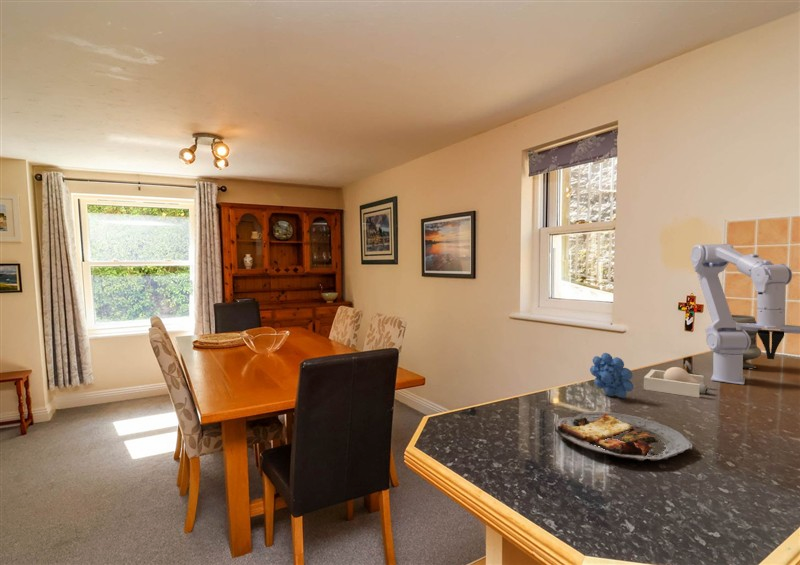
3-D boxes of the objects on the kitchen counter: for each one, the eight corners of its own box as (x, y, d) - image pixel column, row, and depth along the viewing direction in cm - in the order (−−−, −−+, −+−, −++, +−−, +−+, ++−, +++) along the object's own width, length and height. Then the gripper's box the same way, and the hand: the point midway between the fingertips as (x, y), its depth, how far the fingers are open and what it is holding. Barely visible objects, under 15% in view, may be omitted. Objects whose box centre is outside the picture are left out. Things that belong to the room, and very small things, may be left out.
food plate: (633, 479, 69) (634, 458, 69) (531, 433, 90) (531, 417, 90) (712, 451, 81) (712, 433, 81) (605, 416, 102) (605, 402, 102)
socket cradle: (651, 380, 130) (651, 369, 130) (703, 387, 121) (703, 375, 121) (643, 389, 121) (643, 377, 121) (699, 397, 112) (699, 385, 112)
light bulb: (714, 376, 116) (671, 360, 124) (706, 385, 112) (662, 367, 120) (708, 396, 118) (666, 378, 126) (699, 405, 114) (657, 386, 122)
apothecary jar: (730, 370, 141) (730, 317, 140) (710, 362, 153) (710, 314, 152) (770, 370, 139) (770, 317, 138) (746, 362, 151) (746, 314, 150)
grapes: (583, 394, 116) (582, 352, 116) (594, 390, 121) (594, 349, 120) (626, 404, 107) (626, 359, 107) (637, 399, 112) (637, 355, 111)
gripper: (735, 308, 113) (735, 357, 114) (809, 311, 104) (809, 364, 104) (737, 306, 118) (736, 353, 119) (807, 309, 109) (807, 360, 109)
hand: (770, 358), depth 112 cm, fingers closed
